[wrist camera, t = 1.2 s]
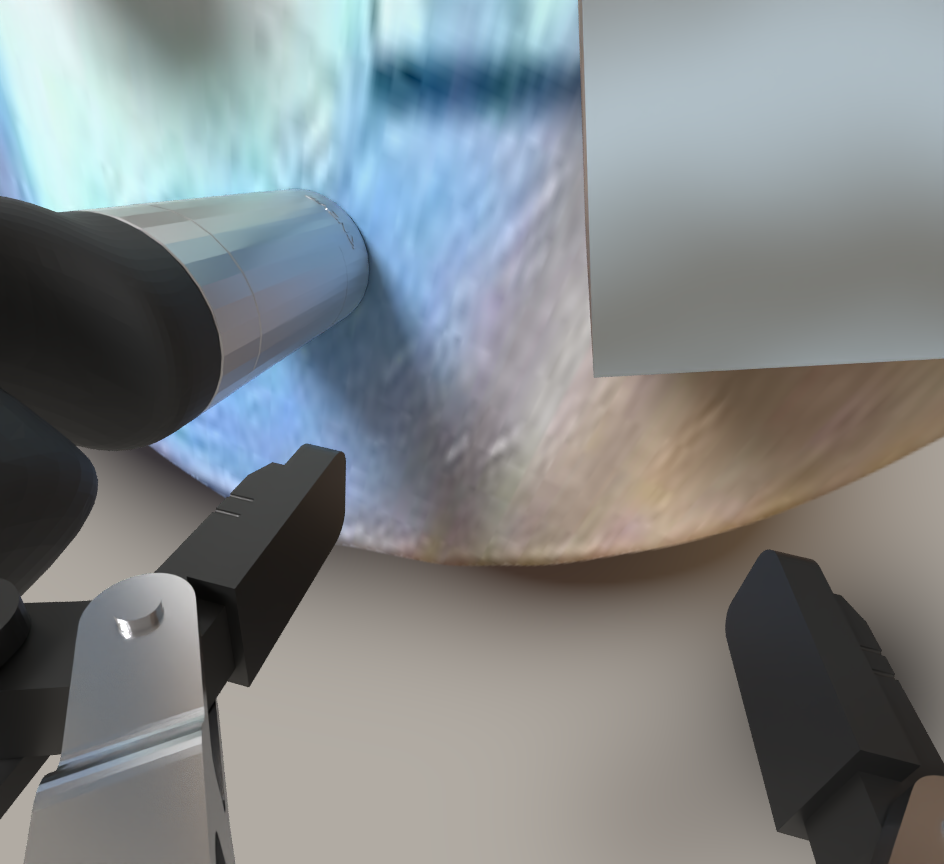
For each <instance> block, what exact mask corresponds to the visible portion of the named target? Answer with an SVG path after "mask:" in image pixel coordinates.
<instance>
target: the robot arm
mask: <svg viewBox="0 0 944 864" xmlns="http://www.w3.org/2000/svg"><path fill="white" fill-rule="evenodd" d="M368 277H369V262H368V254H367V250H366V247H365V243H364V240H363V238H362V236H361V234H360V232H359V230H358V228H357V226H356V225H355V223H354V222H353V221H352V219H351V218H350V217H349V215H348V214H347V213H346V212H345V211H344V210H343V209H342V208H341V207H339V206H338V205H337V204H336V203H335V202H333V201H332V200H330V199H328V198H327V197H325V196H324V195H321V194H318V193H316V192H313V191H310V190H303V189H288V190H277V191H266V192H253V193H243V194H233V195H223V196H213V197H203V198H193V199H183V200H173V201H163V202H153V203H143V204H133V205H127V206H117V207H107V208H97V209H87V210H78V211H69V212H54V211H51V210H49V209H46V208H43V207H40V206H37V205H34V204H31V203H28V202H24V201H21V200H17V199H12V198H8V197H2V196H0V819H1V818H2V816H3V815H4V814H5V813H6V811H7V810H8V809H9V807H10V806H11V805H12V804H13V802H14V801H15V800H16V798H17V797H18V796H19V794H20V793H21V792H22V791H23V789H24V788H25V787H26V786H27V784H28V783H29V782H30V780H31V779H32V778H33V777H34V775H35V774H36V773H37V772H38V770H39V769H40V768H41V766H42V765H43V764H44V763H45V761H46V760H47V759H48V757H49V756H50V755H58V754H61V758H60V763H59V765H58V768H57V770H56V771H54V772H52V773H49V774H47V775H45V776H44V778H43V779H42V781H41V783H40V784H39V787H38V790H37V792H36V796H35V800H34V804H33V809H32V815H31V822H30V828H29V834H28V840H27V846H26V852H25V859H24V864H235V857H234V851H233V844H232V838H231V831H230V822H229V813H228V803H227V792H226V782H225V772H224V761H223V751H222V741H221V731H220V720H219V710H218V703H217V696H218V695H219V693H220V692H221V690H222V688H223V687H224V685H225V684H226V682H227V681H228V682H232V683H235V684H239V685H243V686H246V687H250V685H251V683H252V682H253V680H254V678H255V677H256V675H257V673H258V672H259V670H260V668H261V667H262V665H263V663H264V662H265V660H266V658H267V657H268V655H269V653H270V651H271V650H272V648H273V647H274V645H275V643H276V642H277V640H278V638H279V636H280V635H281V633H282V632H283V630H284V628H285V627H286V625H287V623H288V622H289V620H290V618H291V617H292V615H293V613H294V612H295V610H296V608H297V607H298V605H299V603H300V602H301V600H302V598H303V597H304V595H305V593H306V592H307V590H308V588H309V587H310V585H311V583H312V582H313V580H314V578H315V577H316V575H317V573H318V572H319V570H320V568H321V566H322V565H323V563H324V562H325V560H326V558H327V557H328V555H329V553H330V552H331V550H332V548H333V547H334V545H335V543H336V542H337V539H338V537H339V535H340V532H341V529H342V526H343V522H344V516H345V481H346V458H345V454H344V453H343V452H341V451H337V450H333V449H328V448H324V447H320V446H315V445H311V444H304V445H302V446H301V447H300V448H299V449H298V450H297V452H296V453H295V454H294V455H293V456H292V457H291V458H290V459H289V461H288V462H287V463H286V464H285V465H282V464H278V463H273V462H272V463H270V464H269V465H267V466H265V467H263V468H261V469H259V470H257V471H255V472H253V473H251V474H249V475H248V476H247V477H246V478H245V479H244V480H243V481H242V482H241V483H240V484H239V485H238V486H237V487H236V488H235V489H234V490H233V491H232V492H231V495H230V497H227V498H226V499H225V500H224V501H223V502H222V503H221V504H220V505H219V506H218V507H217V508H216V511H215V513H214V512H212V513H211V514H210V515H209V516H208V517H207V519H205V520H204V521H203V523H202V524H201V525H200V526H199V527H198V528H197V529H196V530H195V531H194V532H193V533H192V534H191V535H190V536H189V537H188V538H187V539H186V540H185V541H184V542H183V543H182V544H181V545H180V546H179V548H178V549H177V550H176V551H175V552H174V553H173V554H172V555H171V556H170V557H169V558H168V559H167V560H166V561H165V562H164V563H163V564H162V565H161V566H160V567H159V568H158V569H157V570H156V571H155V572H154V573H149V574H142V575H138V576H134V577H130V578H128V579H125V580H122V581H120V582H118V583H116V584H114V585H112V586H111V587H109V588H108V589H106V590H104V591H103V592H102V593H100V594H99V595H98V596H97V597H96V598H95V599H93V600H91V601H77V602H45V603H44V602H43V603H23V601H22V599H21V596H22V595H23V594H24V593H25V592H26V591H27V590H28V589H29V588H30V587H31V586H32V585H33V584H34V583H35V582H36V581H37V580H38V578H39V577H40V576H41V575H43V574H44V572H45V571H46V570H47V569H48V568H49V567H50V566H51V565H52V564H53V563H54V562H55V560H56V559H57V558H58V557H59V556H60V554H61V553H62V552H63V551H64V550H65V548H66V547H67V546H68V545H69V544H70V542H71V541H72V540H73V539H74V538H75V536H76V535H77V534H78V532H79V531H80V529H81V527H82V526H83V524H84V522H85V521H86V519H87V517H88V516H89V514H90V511H91V510H92V507H93V505H94V503H95V499H96V496H97V490H98V479H97V475H96V471H95V468H94V466H93V465H92V463H91V461H90V460H89V459H88V458H87V457H86V455H85V454H84V453H83V452H82V451H81V450H80V449H78V448H77V447H76V446H81V447H86V448H90V449H97V450H108V451H120V450H131V449H136V448H141V447H145V446H147V445H150V444H153V443H156V442H158V441H160V440H162V439H164V438H165V437H167V436H169V435H171V434H173V433H174V432H176V431H177V430H179V429H180V428H181V427H183V426H184V425H186V424H187V423H189V422H190V421H192V420H193V419H195V418H196V417H198V416H199V415H201V414H202V413H204V412H205V411H207V410H208V409H210V408H211V407H213V406H214V405H216V404H217V403H219V402H220V401H222V400H223V399H225V398H226V397H228V396H229V395H230V394H232V393H233V392H234V391H236V390H237V389H239V388H240V387H242V386H243V385H245V384H246V383H248V382H249V381H251V380H252V379H254V378H255V377H257V376H258V375H260V374H261V373H263V372H264V371H266V370H267V369H269V368H270V367H272V366H273V365H275V364H276V363H278V362H279V361H281V360H282V359H284V358H285V357H287V356H288V355H290V354H291V353H293V352H294V351H296V350H297V349H299V348H300V347H302V346H303V345H305V344H306V343H308V342H309V341H311V340H312V339H314V338H315V337H317V336H318V335H320V334H321V333H323V332H324V331H326V330H327V329H329V328H330V327H332V326H333V325H335V324H336V323H338V322H339V321H341V320H342V319H344V318H345V317H347V316H348V315H349V314H350V313H351V312H352V311H353V310H354V309H355V308H356V307H357V306H358V305H359V303H360V301H361V300H362V298H363V296H364V294H365V291H366V288H367V285H368ZM75 445H76V446H75ZM725 627H726V628H725V630H726V638H727V642H728V646H729V650H730V654H731V658H732V661H733V665H734V669H735V673H736V677H737V681H738V684H739V688H740V692H741V696H742V700H743V704H744V707H745V711H746V715H747V719H748V723H749V727H750V730H751V734H752V738H753V742H754V746H755V749H756V753H757V757H758V761H759V765H760V769H761V772H762V776H763V780H764V784H765V788H766V791H767V795H768V799H769V803H770V807H771V810H772V814H773V818H774V822H775V826H776V830H777V832H781V833H784V834H787V835H791V836H795V837H798V838H802V839H805V840H809V841H810V845H811V848H812V851H813V855H814V857H815V861H816V864H944V763H943V761H942V760H941V757H940V756H939V754H938V752H937V750H936V748H935V747H934V745H933V743H932V741H931V739H930V737H929V736H928V734H927V732H926V730H925V728H924V726H923V725H922V723H921V721H920V719H919V718H918V716H917V714H916V712H915V710H914V708H913V706H912V705H911V703H910V701H909V699H908V697H907V695H906V694H905V692H904V690H903V689H902V686H901V684H900V683H899V681H898V680H895V679H894V675H895V673H894V672H893V670H892V668H891V666H890V664H889V663H888V661H887V659H886V657H885V656H882V655H881V651H882V650H881V648H880V646H879V644H878V643H877V641H876V639H875V637H874V635H873V633H872V632H871V630H870V628H869V626H868V625H867V622H866V621H865V620H864V619H863V618H862V617H861V616H860V615H859V614H858V613H857V612H856V611H855V610H854V609H853V608H852V606H851V605H850V604H849V603H848V602H847V601H846V600H845V599H844V598H843V597H842V596H841V595H837V594H833V592H832V590H831V588H830V586H829V584H828V582H827V580H826V578H825V577H824V575H823V573H822V571H821V569H820V567H819V565H818V564H817V563H816V562H815V561H814V560H812V559H808V558H804V557H799V556H795V555H790V554H786V553H782V552H778V551H774V550H765V551H764V552H762V553H761V554H760V556H759V557H758V558H757V560H756V562H755V564H754V565H753V567H752V569H751V570H750V572H749V574H748V575H747V577H746V579H745V580H744V582H743V584H742V586H741V587H740V589H739V590H738V592H737V594H736V595H735V597H734V599H733V600H732V602H731V604H730V606H729V609H728V612H727V617H726V625H725Z"/></svg>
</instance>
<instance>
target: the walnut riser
mask: <svg viewBox="0 0 944 864" xmlns="http://www.w3.org/2000/svg"><path fill="white" fill-rule="evenodd" d="M578 12H579V42H580V73H581V104H582V134H583V165H584V195H585V226H586V249H587V267H588V284H589V302H590V319H591V336H592V354H593V371H594V378H595V377H613V376H632V375H650V374H668V373H687V372H705V371H723V370H742V369H760V368H778V367H797V366H815V365H833V364H852V363H870V362H888V361H907V360H925V359H943V358H944V0H578Z"/></svg>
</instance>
